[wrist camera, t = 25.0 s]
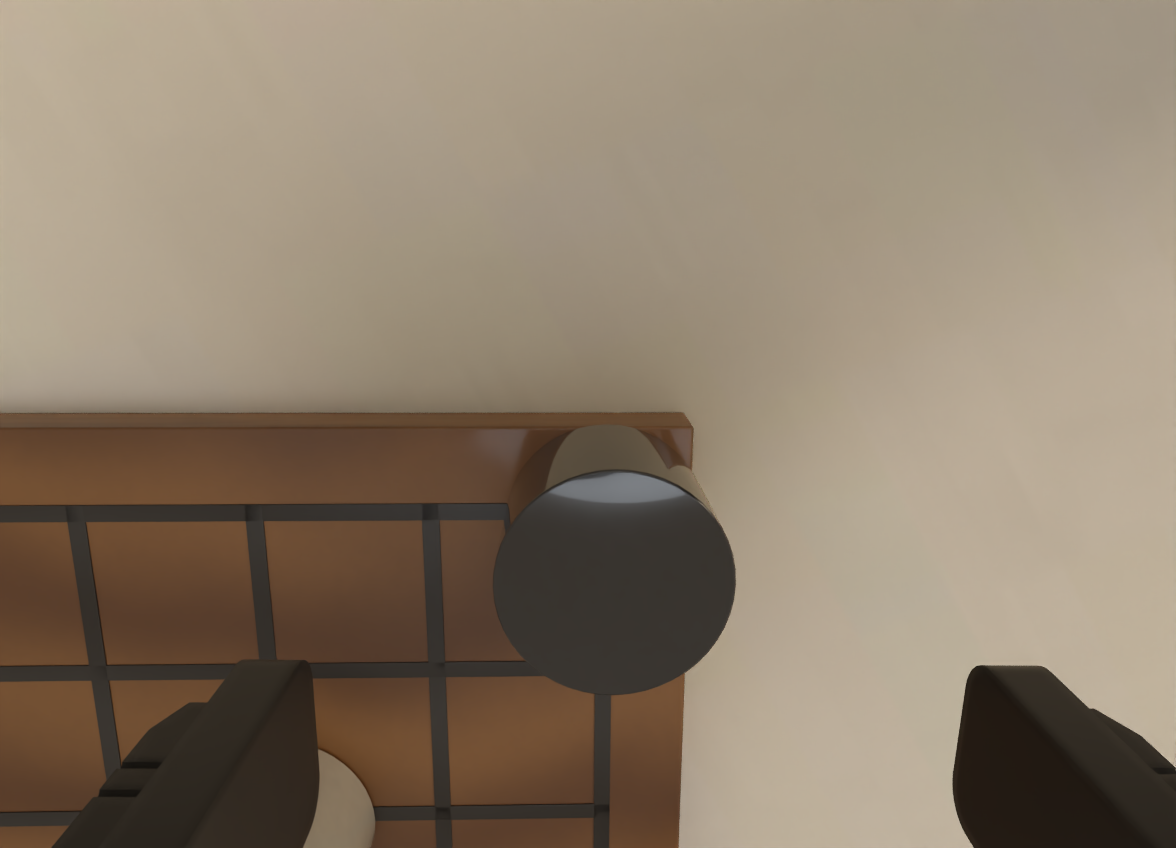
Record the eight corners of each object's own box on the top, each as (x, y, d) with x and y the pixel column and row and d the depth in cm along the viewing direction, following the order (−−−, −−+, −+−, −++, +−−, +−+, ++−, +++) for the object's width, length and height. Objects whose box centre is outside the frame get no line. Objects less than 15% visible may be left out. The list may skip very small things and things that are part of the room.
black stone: (503, 424, 18) (489, 470, 15) (707, 423, 18) (741, 468, 15) (508, 613, 19) (495, 698, 16) (701, 610, 20) (731, 694, 16)
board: (-158, 413, 19) (-218, 428, 18) (684, 412, 20) (694, 427, 18) (-17, 1077, 24) (-55, 1133, 23) (662, 1061, 25) (669, 1115, 23)
